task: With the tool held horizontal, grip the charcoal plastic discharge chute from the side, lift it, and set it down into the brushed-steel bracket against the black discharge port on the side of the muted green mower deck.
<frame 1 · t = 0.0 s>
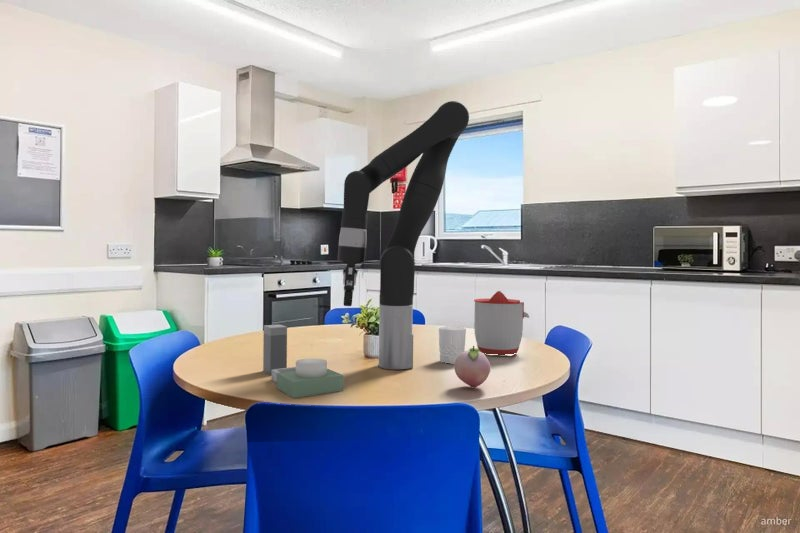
hand: (347, 304, 145), 17 cm above the table, tool pointing down, fingers open, 8 cm apart
citrus juicer: (500, 354, 168), on the table
mower deck: (293, 381, 129), on the table
discharge chute: (274, 371, 139), on the table
white cup: (451, 362, 155), on the table
decorative fruit: (471, 389, 125), on the table
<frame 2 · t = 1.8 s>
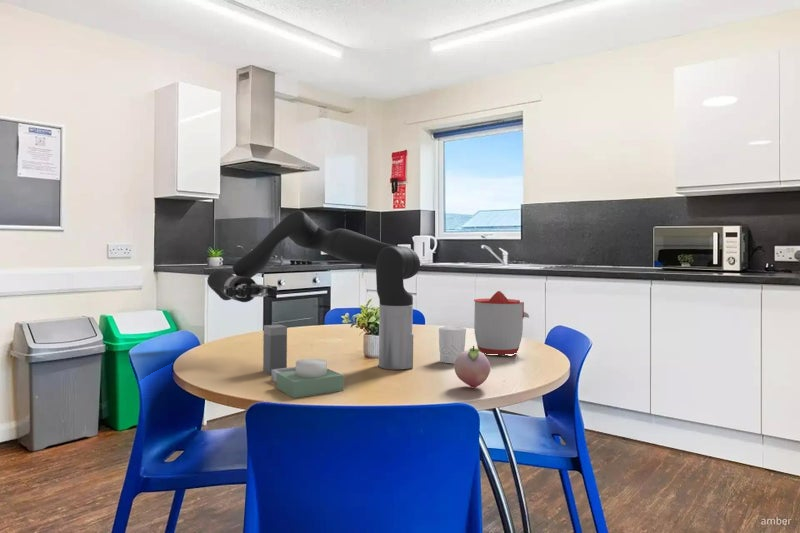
hand: (259, 292, 147), 20 cm above the table, tool horizontal, fingers open, 8 cm apart
nothing on the table moved.
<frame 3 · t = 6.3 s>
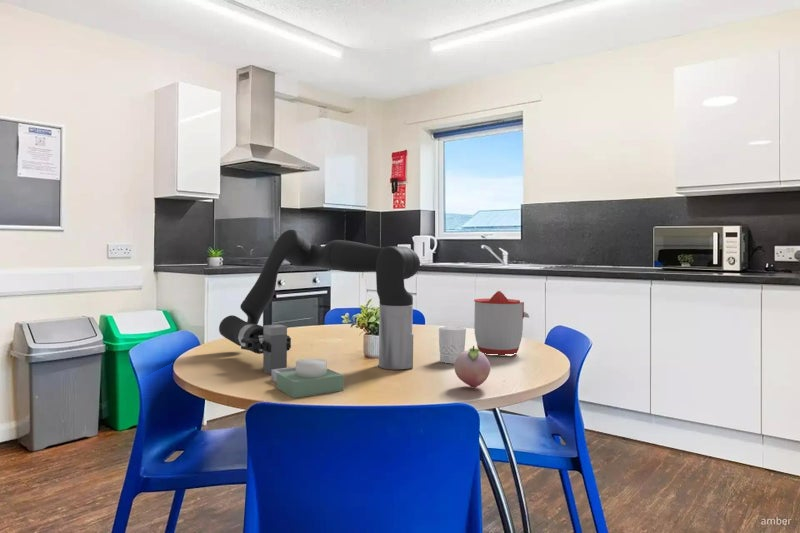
hand: (279, 347, 136), 7 cm above the table, tool horizontal, fingers closed on discharge chute, 4 cm apart
discharge chute: (274, 371, 139), on the table, touching gripper
everything else where it was.
when the fingers open (8 cm above the table, at t = 12.1 s): discharge chute drops 1 cm, resting in mower deck.
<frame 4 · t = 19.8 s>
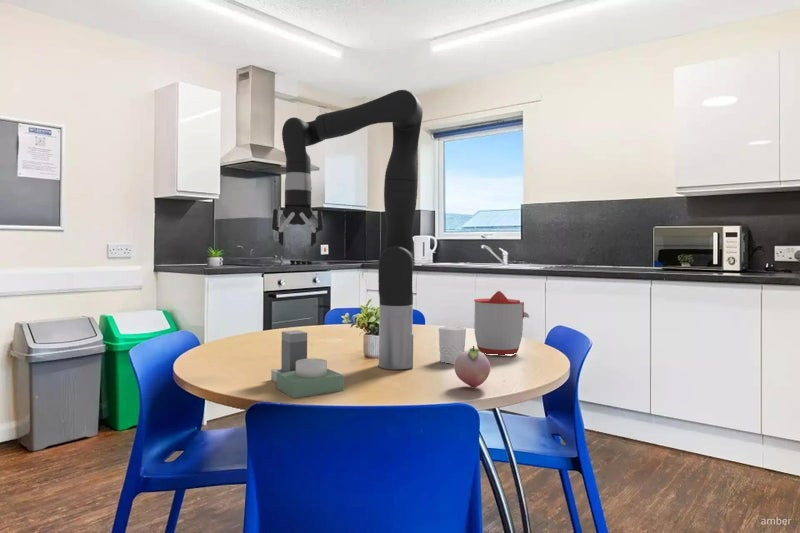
hand: (297, 245, 154), 33 cm above the table, tool pointing down, fingers open, 8 cm apart
discharge chute: (293, 381, 129), resting in mower deck
everything else where it was.
at the end: discharge chute 0.0 cm from the mower deck (horizontally); discharge chute tilted 0°; discharge chute resting in mower deck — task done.
